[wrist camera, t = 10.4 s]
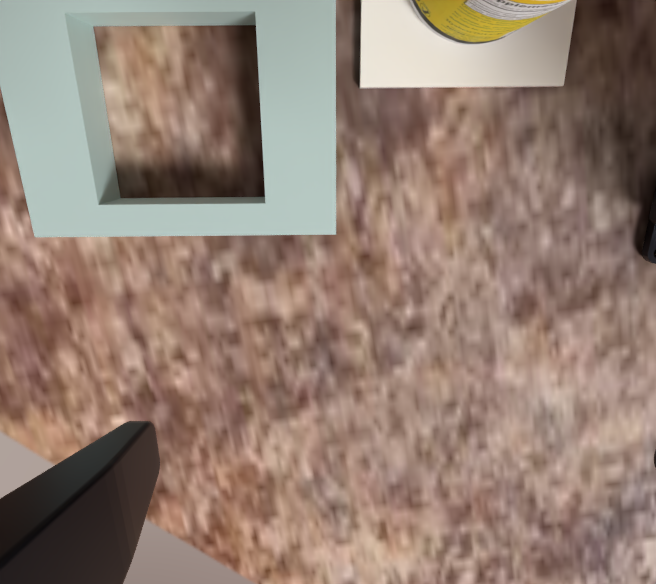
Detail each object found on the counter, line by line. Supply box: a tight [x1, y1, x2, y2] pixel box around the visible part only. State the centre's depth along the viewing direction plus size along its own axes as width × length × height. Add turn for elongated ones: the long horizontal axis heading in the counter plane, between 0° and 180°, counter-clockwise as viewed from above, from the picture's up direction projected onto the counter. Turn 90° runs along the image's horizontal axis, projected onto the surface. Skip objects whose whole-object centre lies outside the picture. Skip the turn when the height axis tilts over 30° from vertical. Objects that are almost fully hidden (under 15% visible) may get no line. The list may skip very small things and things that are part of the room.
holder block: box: [0, 0, 336, 237], centre depth 17 cm, size 12×9×2 cm
